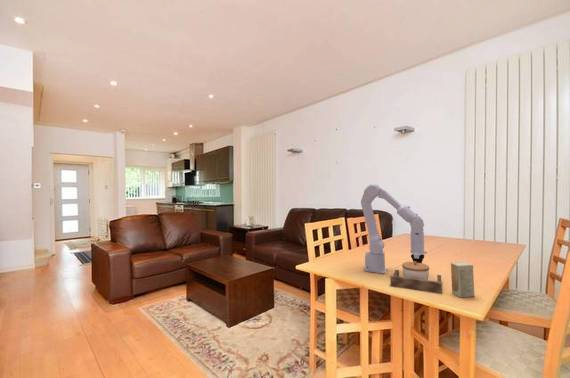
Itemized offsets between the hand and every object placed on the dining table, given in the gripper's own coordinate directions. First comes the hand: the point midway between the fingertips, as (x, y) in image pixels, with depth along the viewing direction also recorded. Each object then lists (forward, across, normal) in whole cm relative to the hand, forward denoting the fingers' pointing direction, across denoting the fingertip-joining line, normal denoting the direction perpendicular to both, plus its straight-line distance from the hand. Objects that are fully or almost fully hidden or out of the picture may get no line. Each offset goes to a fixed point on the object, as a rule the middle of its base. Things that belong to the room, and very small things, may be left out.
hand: (418, 270), depth 127 cm
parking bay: (+2, -12, 0) cm, 12 cm away
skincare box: (+3, -18, -17) cm, 25 cm away
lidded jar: (+3, -12, 0) cm, 12 cm away
